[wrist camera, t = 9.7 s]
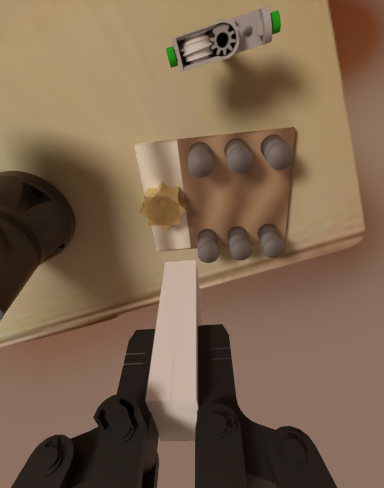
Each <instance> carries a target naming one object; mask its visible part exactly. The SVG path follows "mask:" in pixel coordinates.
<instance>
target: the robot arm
mask: <svg viewBox="0 0 384 488" xmlns="http://www.w3.org/2000/svg"><path fill="white" fill-rule="evenodd" d="M74 232H75V218H74V214H73V211H72V209H71V207H70V205H69V203H68V202H67V200H66V199H65V197H64V196H63V195H62V194H61V193H60V192H59V191H58V190H57V189H56V188H55V187H53V186H52V185H51V184H49V183H48V182H46V181H45V180H43V179H41V178H39V177H37V176H34V175H32V174H28V173H25V172H19V171H5V172H0V321H1V320H2V318H3V316H4V314H5V313H6V311H7V310H8V308H9V307H10V305H11V304H12V303H13V301H14V300H15V298H16V297H17V295H18V294H19V293H20V291H21V290H22V288H23V287H24V286H25V284H26V283H27V281H28V280H29V278H30V277H31V276H32V274H33V273H34V271H35V270H36V268H37V267H38V266H39V265H41V264H42V263H44V262H46V261H47V260H49V259H51V258H53V257H54V256H56V255H58V254H59V253H60V252H62V251H63V250H64V249H65V248H66V246H67V245H68V243H69V242H70V240H71V239H72V237H73V235H74ZM94 419H95V421H96V423H97V424H98V427H97V428H95V429H93V430H91V431H89V432H86V433H84V434H81V435H79V436H76V437H74V438H72V439H70V438H68V437H67V436H65V435H54V436H52V437H49V438H47V439H46V440H44V441H43V442H42V443H40V444H39V445H38V446H37V447H36V449H35V450H34V451H33V453H32V454H31V455H30V457H29V459H28V461H27V462H26V464H25V466H24V467H23V469H22V470H21V472H20V474H19V475H18V477H17V479H16V480H15V482H14V484H13V485H12V487H11V488H157V480H158V468H159V457H158V453H157V446H158V436H159V438H160V441H187V440H188V441H189V440H195V488H337V486H336V484H335V482H334V481H333V479H332V477H331V475H330V473H329V471H328V469H327V467H326V465H325V463H324V461H323V459H322V458H321V456H320V454H319V452H318V450H317V448H316V446H315V444H314V443H313V442H312V440H311V439H310V438H309V436H308V435H307V434H305V433H304V432H302V431H301V430H300V429H297V428H294V427H291V426H285V427H280V428H278V429H276V430H274V429H271V428H268V427H265V426H262V425H259V424H257V423H254V422H253V421H251V420H250V419H248V418H247V417H246V416H245V415H244V414H243V413H242V411H241V410H240V408H239V406H238V403H237V399H236V392H235V384H234V375H233V367H232V359H231V349H230V341H229V334H228V333H227V331H226V329H225V328H224V326H223V325H222V324H219V325H203V326H202V325H201V298H200V289H199V280H198V272H197V263H196V260H190V261H176V262H165V268H164V275H163V282H162V289H161V296H160V303H159V309H158V317H157V323H156V329H145V330H136V331H135V333H134V334H133V336H132V337H131V339H130V340H129V343H128V347H127V352H126V356H125V361H124V366H123V369H122V374H121V378H120V382H119V387H118V391H117V395H113V396H111V397H110V398H108V399H106V400H105V401H104V402H103V403H102V404H101V405H100V406H99V407H98V409H97V411H96V413H95V415H94Z"/></svg>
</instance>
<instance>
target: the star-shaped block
mask: <svg viewBox="0 0 384 488" xmlns="http://www.w3.org/2000/svg"><path fill="white" fill-rule="evenodd" d="M144 198H145V202H144V203H143V206H142V208H141V211H140V212H141V213H142V214H143V215H145V216H146V217H147V218H148V222H149V226H160V227H161V228H162V229H164V230H165V231H166V230H167V229H168V228H169V227H170V226H171V225H181V215H182V214H183V213H184V212H185V211H186V203H187V201H186V200H185V199H183V198H182V197H181V196H180V193H179V187H169V186H167V185H166V184H165V183H164V182H161V184H160V185H159V186H158V187H157V188H148V189H147V191H146V194H145V196H144Z"/></svg>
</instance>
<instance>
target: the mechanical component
mask: <svg viewBox="0 0 384 488" xmlns="http://www.w3.org/2000/svg"><path fill="white" fill-rule="evenodd" d="M280 27H281V22H280V15H279V11H274V12H272V13H270V10H269V8H268V6H266V7H263V8H260V9H258V10H255V11H252V12H250V13H247V14H244V15H241V16H238V17H235V18H231V19H220V20H217V21H216V22H214V23H213V24H212V25H209V26H206V27H203V28H200V29H197V30H194V31H191V32H189V33H186V34H183V35H180V36H177V37H174V38H172V40H173V44H174V48H175V50H174V48H173V46H172V47H169V48H166V50H167V55H168V59H169V62H170V65H171V68H172V67H175V66H178V63H179V67H180V71H181V72H182V71H185V70H188V69H191V68H195V67H198V66H201V65H204V64H207V63H210V62H213V61H216V60H225V59H228V58H230V57H231V56H232V55H234V54H236V53H239V52H241V51H244V50H247V49H250V48H253V47H257V46H260V45H263V44H266V43H270V42H271V40H272V34H275V33H278V32H280ZM177 61H178V63H177Z"/></svg>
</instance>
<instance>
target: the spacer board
mask: <svg viewBox="0 0 384 488" xmlns="http://www.w3.org/2000/svg"><path fill="white" fill-rule="evenodd" d="M295 131H296V129H295V128H294V127H291V128H281V129H272V130H262V131H253V132H243V133H234V134H224V135H215V136H205V137H196V138H186V139H177V140H167V141H158V142H148V143H138V144H135V145H134V147H135V152H136V156H137V161H138V166H139V170H140V175H141V180H142V184H143V189H144V194H146V191H147V189H148V188H157V187H158V186H159V185H160V184H161V182H164V183H165V184H166V185H167V186H169V187H179V193H180V196H181V197H182V198H183V199H185V200H186V201H187V203H186V211H185V212H184V213H183V214H182V215H181V225H171V226H170V227H169V228H168V229H167V230H166V231H165V230H164V229H162V228H161V227H160V226H151V227H152V231H153V236H154V241H155V245H156V250H157V251H158V250H170V249H183V248H197V247H198V257H199V259H200V260H201V261H203V262H205V263H211V262H214V261H215V260H217V258H218V256H219V251H218V246H223V245H229V247H230V252H231V256H232V257H233V258H234V259H236V260H245V259H247V258H248V257H250V255H251V253H252V249H251V246H250V243H261V245H262V248H263V251H264V254H265V255H266V256H267V257H270V258H276V257H279V256H281V255H282V254H283V253H284V251H285V245H284V243H283V241H285V234H286V224H287V214H288V203H289V193H290V183H291V172H292V162H293V160H294V141H295Z"/></svg>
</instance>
